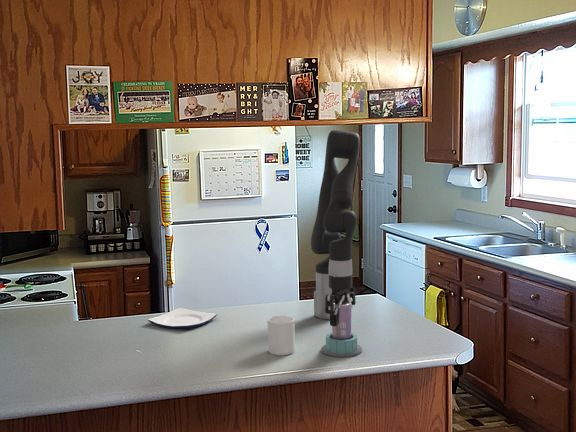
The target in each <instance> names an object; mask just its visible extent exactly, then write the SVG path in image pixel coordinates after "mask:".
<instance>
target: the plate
mask: <svg viewBox="0 0 576 432" xmlns="http://www.w3.org/2000/svg"><path fill="white" fill-rule="evenodd" d="M217 316H218V313H217V312H216V313H215V312H204V311H198V310H191V309H188V308H184V307H178V308H176V309H173V310H171V311H169V312H166V313H164V314H160V315H158V316H156V317H151V318H147V321H148V322H149V323H151V324H154V325H156V326H157V327H158V326H159V327H162V328H166V329H172V330H173V329H174V330H187V329H188V330H189V329H194V328H197V327H200V326H202V325H205V324H207V323H208V322H210V321H212V320H214V319H215V318H216V317H217Z"/></svg>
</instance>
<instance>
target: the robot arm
mask: <svg viewBox="0 0 576 432" xmlns="http://www.w3.org/2000/svg"><path fill="white" fill-rule="evenodd" d="M360 146H361V138H360V135H359V134H358V133H357V132H353V131H345V130H337V129H334V130H330V131H329V133H328V136H327V140H326V147H325V156H324V168H323V174H322V179H321V186H320V191H319V197H318V205H317V211H316V217H315V221H314V225H313V228H312V233H311V237H310V238H311V239H310V248H311V251H312V253H314V254H316V255H328V257H326V258H325V259H324V260H321V261H319V262H317V264H316V265H315V290H314V291H313V315H314V317H316V318H318V319H322V320H329V325H330V326H331V327H332V326H337V315H336V314H337V311H338V309H340V307H341V305H343V304H345V303H346V302H347V301H348V302H350V305H351V309H353V306H355V305H356V303H357V301H356V287H354V286H353V259H352V249H353V248H352V247H353V239H354V235H355V232H356V228H357V224H358V216H357V214H356V212H355V211H353V210H348V209H350V208H351V207H352V205H353V197H354V182H355V177H356V173H357V167H358V161H359V155H360ZM336 159H344V160H348V161H347V163H346V165H345V166H344V167H343V168H342V170H341V171H340V172H339V170H338V168H337V165H336ZM341 234H345V236H344V237H342V235H341ZM334 303H335V304H336V305H334ZM334 308H335V310H334Z"/></svg>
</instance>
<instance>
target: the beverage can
mask: <svg viewBox="0 0 576 432" xmlns="http://www.w3.org/2000/svg"><path fill="white" fill-rule="evenodd" d="M334 305H336V304H335V303H334ZM334 310H335V308H334ZM336 315H337V326H331V327H332V329H331V330H332V332H331V333H333V339H336V340H348V339H351V333H352V308H351V305H350V302H348V301H347V302H346V303H345V304H343V305H341V307H340V309H338V311H337V314H336Z"/></svg>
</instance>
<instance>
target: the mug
mask: <svg viewBox="0 0 576 432" xmlns="http://www.w3.org/2000/svg"><path fill="white" fill-rule="evenodd" d="M266 323H267V351H268V352H269V354H271V355H274V356H287V355H288V356H289V355H292V354H293V353H294V352H295V350H296V349H295V348H296V345H295V343H296V341H295V340H296V339H295V338H296V337H295V336H296V335H295V332H296V331H295V317H293V316H288V315H276V316H271V317H268V318H267V322H266Z"/></svg>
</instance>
